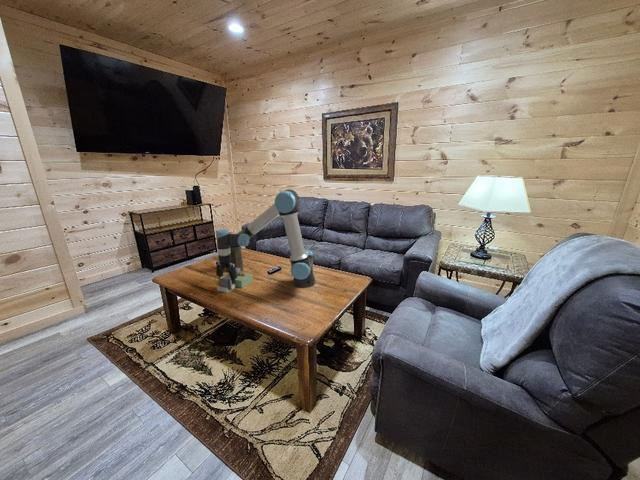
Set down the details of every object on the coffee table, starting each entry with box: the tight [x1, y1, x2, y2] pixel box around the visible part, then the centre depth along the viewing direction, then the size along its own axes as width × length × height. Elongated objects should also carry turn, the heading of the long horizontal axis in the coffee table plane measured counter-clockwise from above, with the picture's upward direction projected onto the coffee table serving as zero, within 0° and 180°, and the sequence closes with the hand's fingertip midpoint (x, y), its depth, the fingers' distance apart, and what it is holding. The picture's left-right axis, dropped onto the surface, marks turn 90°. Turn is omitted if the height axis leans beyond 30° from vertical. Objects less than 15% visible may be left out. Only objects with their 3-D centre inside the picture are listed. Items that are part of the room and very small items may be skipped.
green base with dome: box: [216, 268, 254, 294], centre depth 176 cm, size 16×22×9 cm
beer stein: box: [230, 246, 244, 272], centre depth 200 cm, size 15×11×20 cm
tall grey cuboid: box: [219, 276, 231, 290], centre depth 171 cm, size 5×7×7 cm
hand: (227, 287), depth 172 cm, fingers open, 8 cm apart
